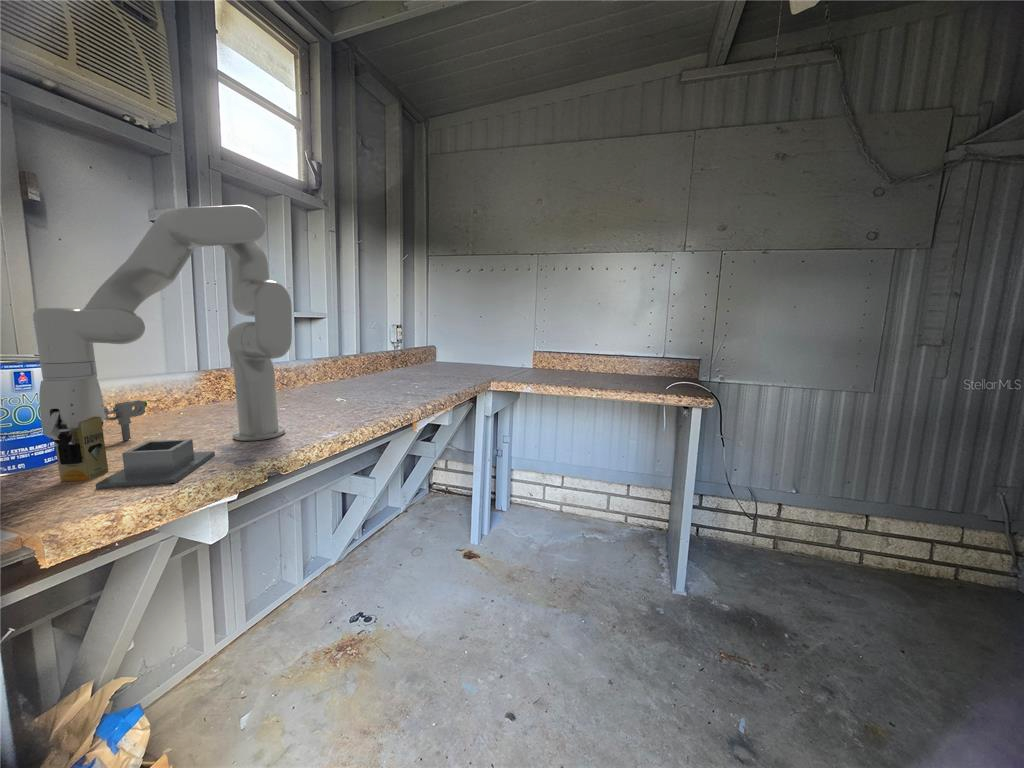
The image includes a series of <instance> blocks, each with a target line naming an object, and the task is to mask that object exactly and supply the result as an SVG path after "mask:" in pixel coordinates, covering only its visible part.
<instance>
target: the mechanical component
mask: <svg viewBox="0 0 1024 768" xmlns="http://www.w3.org/2000/svg"><path fill="white" fill-rule="evenodd" d="M113 405H114V407H113V408H112V410H109V409H108V407H107V406H105V405H104V412H105V413H106V415H107V416H106V418H105V420H106V421H110V422H111V421H118V423H117V425H119V426H120V427H121V428H120V430H121V437H122V441H123V440H124V441H125V440H129V439H131V440H132V437H131V431H130V424H132V421H131V418H133V417H141V416H143V415H144V414H145V412H146V407H147V406H148V402H147V401H146V400H139V399H138V400H131V401H124V402H117V403H114V404H113ZM133 407H134V408H133ZM112 414H115V416H111V417H109V416H108V415H112ZM105 420H104V421H105ZM129 441H130V440H129Z"/></svg>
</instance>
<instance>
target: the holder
mask: <svg viewBox="0 0 1024 768" xmlns="http://www.w3.org/2000/svg"><path fill="white" fill-rule="evenodd" d="M121 454H122V462H123V469H121V470H119V471H118V472H116V473H115V472H114V473H113V474H112V475H110V476H107V477H106V478H104V479H102V480H100V481H99V482H96V483H95V484H94V485H95V489H96V490H101V489H102V488H105V489H115V488H114V487H120V488H129V487H128V486H135V487H146V486H147V485H149V486H159V485H158V484H164V485H171V484H170V483H175V484H177V483H178V482H179V481H181V480H182V479H184V478H185V477H187V476H188V475H189V474H190V472H191V473H192V472H194V471H196V470H197V468H199V467H200V466H202V465H204V464H205V463H206V462H208V461H209V460H210V459H211V457H212V458H213V457H215V455H216V454H215V451H214V450H213V451H211V450H210V451H194V443H193V439H192V438H188V439H187V438H186V439H164V440H163V439H162V440H161V439H160V440H146V441H145V442H142V443H141V444H139V445H136V446H134V447H132V448H130V449H128V450H126V451H123V452H122V453H121ZM208 459H209V460H208ZM204 462H205V463H204ZM187 474H188V475H187ZM184 476H185V477H184ZM183 477H184V478H183ZM181 478H182V479H181ZM180 479H181V480H180ZM178 480H179V481H178ZM177 481H178V482H177ZM176 482H177V483H176ZM126 486H127V487H126ZM147 487H148V486H147ZM102 490H103V489H102Z"/></svg>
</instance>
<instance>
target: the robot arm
mask: <svg viewBox="0 0 1024 768" xmlns="http://www.w3.org/2000/svg"><path fill="white" fill-rule="evenodd" d="M265 232H266V222H265V219H264V218H263V216H262V215H261V214H260V213H259V212H258V211H257V210H256V209H255V208H253V207H250V206H248V205H245V204H234V205H233V204H232V205H214V206H210V205H209V206H187V207H181V208H175V209H170V210H166V211H164V212H163V213H161V214H160V215H158V217H157V218H156V219H155V220H154V222H153V223H152V225H151V226H150V228H149V229H148V230H147V231H146V233H145V235H144V236H143V238H142V239H141V240H140V241H139V243H138V245H137V246H136V247H135V248H134V250H133V252H132V253H131V254H130V255H129V257H128V258H127V259H126V261H125V262H124V263H122V264H121V265H120V266H119V267H118V268H117V269H116V270H115V271H114V273H112V275H110V276H109V277H108V278H107V279H106V280H105V281H104V282H103V283H102V285H100V287H98V289H97V290H96V291H95V293H94V294H93V295H92V297H91V298H90V299H89V301H87V303H86V305H85V306H84V308H83V309H82V308H77V307H74V308H73V307H40V308H37V309H35V310H34V311H33V313H32V320H33V326H34V331H35V339H36V344H37V351H38V358H39V359H38V360H39V365H40V370H41V377H42V380H41V381H40V384H39V393H38V394H39V397H38V399H39V413H40V415H39V416H40V423H41V428H42V430H43V435H44V436H45V437H47V438H49V439H50V440H51V441H52V442H54V446H55V445H56V446H58V451H59V458H60V463H61V464H62V465H64V464H79V463H81V462H82V458H81V451H80V444H79V443H78V444H76V440H77V429H78V428H79V427H80V422H84V421H87V420H90V419H93V418H96V417H101V420H102V427H103V426H104V422H105V418H106V416H107V415H106V413H105V412H104V406H105V405H104V404H105V403H104V399H103V395H102V390H101V386H100V382H99V378H98V370H97V365H96V363H97V362H96V358H95V357H96V356H95V350H94V349H95V348H94V344H110V345H111V344H112V345H127V344H131V343H134V342H136V341H137V340H140V339H141V338H142V337H143V335H144V334H145V330H146V325H145V322H144V321H143V319H142V317H141V316H140V315H139V314H137V313H136V312H135V311H136V310H137V309H138V308H139V307H140V305H141V304H143V303H144V302H145V301H146V300H147V299H149V298H150V297H152V296H153V295H155V294H156V293H159V292H161V291H163V290H165V289H166V288H167V287H169V286H171V284H173V283H174V282H175V280H176V278H178V276H179V274H180V273H181V271H182V269H183V267H184V266H185V265H186V263H187V262H188V260H189V258H190V257H191V255H192V254H193V253H194V251H195V250H196V248H202V247H210V246H211V247H212V246H213V247H214V246H215V247H216V246H221V248H222V249H223V250H224V251H225V253H226V254H227V256H228V258H229V262H230V268H231V300H232V301H231V303H232V305H233V308H234V309H235V310H236V312H237V313H238V314H240V315H243V316H247V317H252V318H253V317H254V321H244V322H243V321H242V322H240V323H237V324H235V325H233V326H232V327H231V329H230V330H229V332H228V335H227V339H226V340H227V347H228V350H229V353H230V354H229V355H230V357H231V361H232V367H233V375H234V387H235V388H234V389H235V398H236V399H235V400H236V411H237V418H238V419H237V420H238V430H235V431H234V432H233V433H232V438H233V439H234V440H236V441H241V442H242V441H243V442H245V441H247V442H250V441H251V442H254V441H262V440H263V441H264V440H269V439H274V438H276V437H277V438H278V437H280V436H282V435H283V434H285V433H286V429H285V427H283V426H282V425H281V426H280V425H279V419H278V418H279V417H278V415H279V414H278V403H277V389H276V373H275V368H274V364H273V361H272V359H274V360H275V359H279V358H282V357H284V356H285V355H286V354H287V353H288V351H290V348H291V344H292V342H293V341H292V339H293V338H292V337H293V334H292V333H293V332H292V329H293V327H292V325H293V324H292V323H293V321H292V319H293V316H292V315H293V314H292V312H293V311H292V309H293V308H292V307H293V306H292V299H291V297H290V294H289V292H288V290H287V289H286V288H285V286H284V285H282V284H281V283H280V282H277V281H274V280H271V279H270V274H269V273H270V272H269V263H268V259H267V256H266V254H265V252H264V250H263V248H262V247H261V245H260V244H259V243H258V242H257V241H259V240H260V239H261V238H263V236H264V234H265ZM62 426H67V427H66V428H68V429H62ZM64 432H69V437H68V436H67V435H65V434H63V433H64Z"/></svg>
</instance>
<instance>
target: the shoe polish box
mask: <svg viewBox="0 0 1024 768" xmlns="http://www.w3.org/2000/svg"><path fill="white" fill-rule="evenodd" d="M66 427H67V426H62V429H68V428H66ZM63 434H65V435H67V436H68V437H69V432H64V433H63ZM105 442H106V441H105V437H104V428H103V426H102V420H101V417H96V418H93V419H90V420H87V421H84V422H80V427H79V428H78V429H77V440H76V444H78V443H79V444H80V451H81V458H82V462H81V463H79V464H64V465H62V464H61V463H60V458H59V451H58V446H56V445H55V444H54V446H55V452H56V454H55V455H56V458H57V459H56V460H57V465H58V466H57V467H58V472H59V479H60V482H61V483H62V482H82V481H83V480H84V481H85V480H89V481H92V480H93V478H94V479H96V478H99V477H100V476H102V475H104V473H105V474H107V473H109V466H108V465H109V464H108V459H107V451H106V444H105ZM84 481H83V482H84Z"/></svg>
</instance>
